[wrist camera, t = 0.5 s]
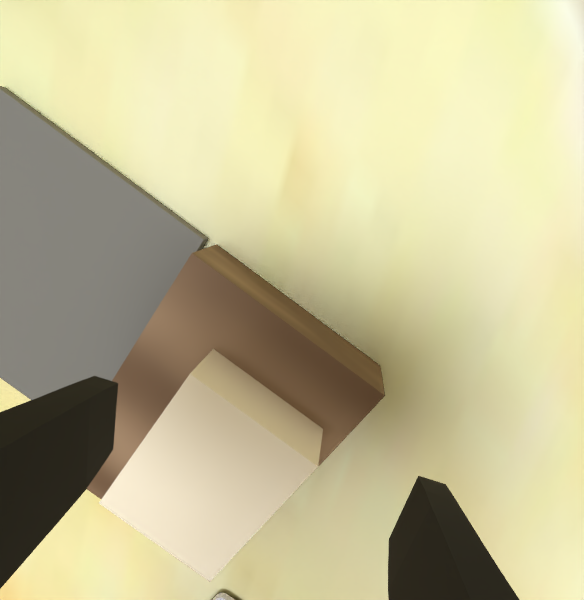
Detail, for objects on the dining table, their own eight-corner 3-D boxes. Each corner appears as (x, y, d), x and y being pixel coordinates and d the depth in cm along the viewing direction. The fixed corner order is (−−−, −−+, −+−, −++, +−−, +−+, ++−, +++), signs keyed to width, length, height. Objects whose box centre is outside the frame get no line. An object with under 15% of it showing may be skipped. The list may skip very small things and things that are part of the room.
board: (230, 531, 23) (213, 578, 20) (94, 434, 23) (57, 468, 20) (380, 365, 19) (384, 395, 16) (216, 244, 19) (192, 252, 16)
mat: (87, 429, 23) (80, 435, 22) (-81, 309, 22) (-92, 311, 22) (208, 238, 19) (203, 239, 18) (4, 87, 18) (-7, 83, 18)
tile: (227, 534, 19) (210, 582, 17) (130, 465, 19) (98, 502, 17) (322, 428, 17) (318, 466, 15) (213, 348, 17) (190, 373, 14)
